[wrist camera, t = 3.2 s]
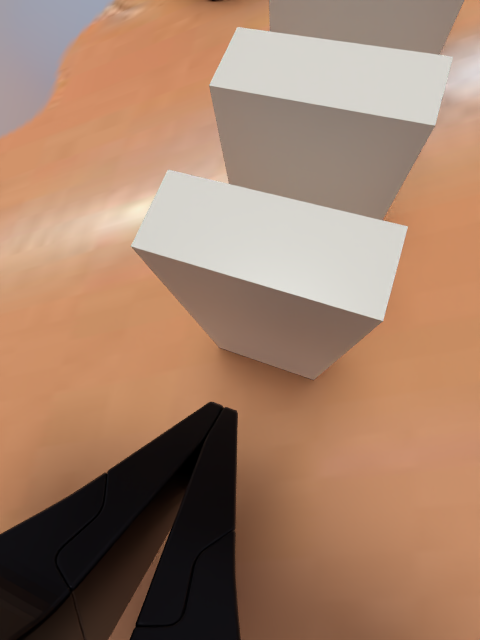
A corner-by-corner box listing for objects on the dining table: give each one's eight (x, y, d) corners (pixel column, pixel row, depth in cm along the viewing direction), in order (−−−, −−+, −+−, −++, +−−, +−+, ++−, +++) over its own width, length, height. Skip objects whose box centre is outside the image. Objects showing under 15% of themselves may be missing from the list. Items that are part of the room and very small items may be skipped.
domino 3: (359, 229, 18) (472, -19, 8) (272, 207, 19) (268, -38, 9) (368, 200, 19) (486, -71, 8) (282, 180, 20) (291, -84, 9)
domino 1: (313, 380, 16) (382, 321, 6) (219, 347, 17) (130, 246, 7) (324, 343, 17) (407, 226, 6) (232, 313, 18) (168, 169, 7)
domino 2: (337, 300, 17) (435, 125, 7) (247, 273, 18) (208, 85, 8) (347, 267, 18) (453, 56, 7) (258, 243, 19) (237, 27, 8)
